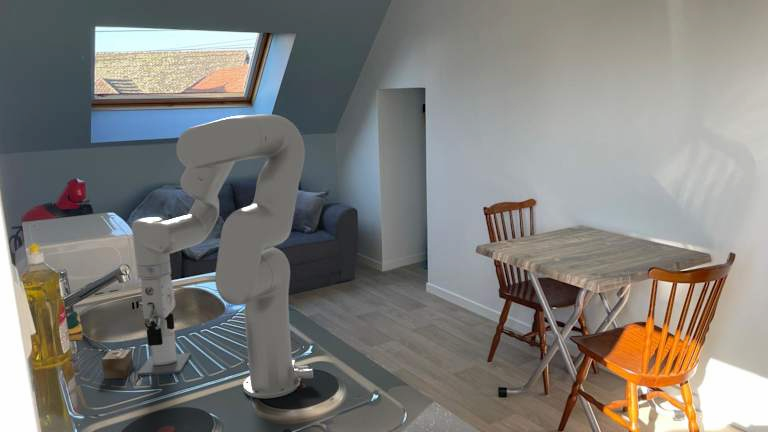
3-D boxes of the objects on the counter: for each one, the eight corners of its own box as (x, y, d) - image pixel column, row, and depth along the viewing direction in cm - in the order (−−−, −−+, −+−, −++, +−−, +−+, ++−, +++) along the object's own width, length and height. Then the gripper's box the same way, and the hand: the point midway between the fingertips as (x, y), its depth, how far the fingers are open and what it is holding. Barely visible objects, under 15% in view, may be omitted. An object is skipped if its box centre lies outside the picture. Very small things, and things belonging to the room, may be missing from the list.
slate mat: (191, 355, 149) (190, 353, 149) (180, 372, 139) (180, 370, 139) (151, 357, 148) (150, 355, 148) (137, 375, 139) (137, 373, 139)
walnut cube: (133, 368, 143) (130, 348, 142) (126, 377, 138) (123, 357, 137) (112, 369, 143) (109, 349, 142) (104, 379, 138) (101, 358, 137)
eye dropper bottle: (171, 365, 141) (166, 318, 140) (149, 365, 142) (144, 318, 140) (180, 359, 146) (175, 312, 144) (159, 358, 146) (154, 312, 145)
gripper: (158, 278, 131) (167, 350, 134) (179, 259, 148) (186, 323, 151) (124, 280, 131) (133, 352, 134) (149, 260, 148) (157, 324, 151)
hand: (161, 336), depth 143 cm, fingers open, 9 cm apart
